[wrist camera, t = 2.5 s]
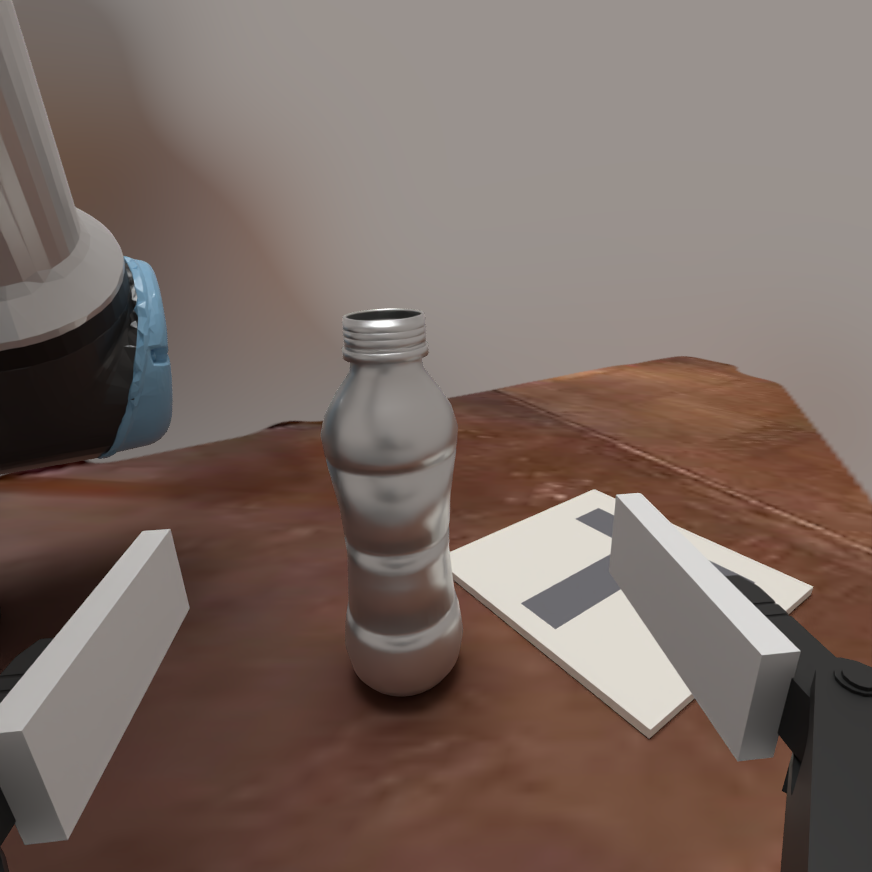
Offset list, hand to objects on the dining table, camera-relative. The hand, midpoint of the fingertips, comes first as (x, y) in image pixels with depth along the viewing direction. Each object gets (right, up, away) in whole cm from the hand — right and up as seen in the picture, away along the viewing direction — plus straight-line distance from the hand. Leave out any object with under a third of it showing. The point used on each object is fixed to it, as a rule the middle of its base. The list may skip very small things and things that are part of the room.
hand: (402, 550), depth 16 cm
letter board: (+14, -7, +22) cm, 26 cm away
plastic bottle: (-1, -10, +15) cm, 18 cm away
